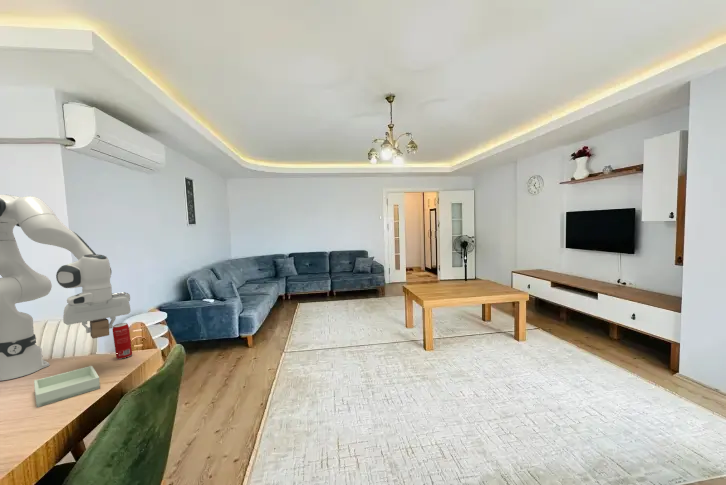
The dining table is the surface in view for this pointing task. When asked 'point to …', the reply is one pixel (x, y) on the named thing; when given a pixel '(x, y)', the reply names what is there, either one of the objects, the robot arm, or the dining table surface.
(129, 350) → the beverage can
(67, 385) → the bin
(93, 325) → the walnut block
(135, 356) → the dining table surface
